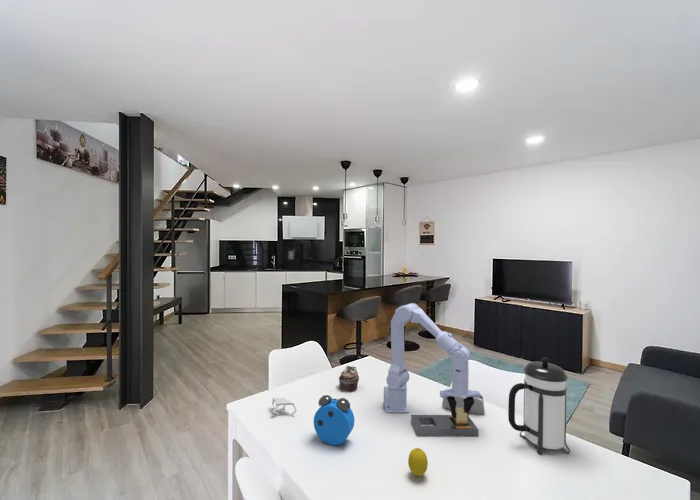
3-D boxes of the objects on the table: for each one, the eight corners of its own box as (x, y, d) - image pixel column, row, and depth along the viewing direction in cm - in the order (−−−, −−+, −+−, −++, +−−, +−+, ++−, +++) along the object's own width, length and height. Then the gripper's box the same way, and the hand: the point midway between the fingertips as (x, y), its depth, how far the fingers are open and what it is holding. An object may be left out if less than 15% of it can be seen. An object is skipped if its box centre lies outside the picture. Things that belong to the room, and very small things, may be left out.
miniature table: (264, 417, 124) (264, 405, 124) (273, 407, 133) (273, 395, 133) (294, 421, 122) (294, 408, 122) (301, 410, 131) (301, 398, 131)
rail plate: (417, 436, 114) (417, 428, 114) (410, 421, 124) (411, 414, 124) (478, 436, 114) (478, 428, 114) (467, 421, 124) (467, 414, 124)
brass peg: (456, 432, 117) (456, 412, 117) (452, 426, 121) (452, 407, 121) (467, 432, 117) (467, 412, 117) (462, 426, 121) (463, 407, 121)
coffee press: (523, 426, 121) (525, 347, 121) (574, 445, 110) (576, 357, 110) (507, 445, 109) (508, 357, 109) (562, 468, 98) (563, 370, 98)
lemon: (405, 469, 96) (406, 443, 96) (423, 469, 96) (424, 442, 97) (411, 483, 91) (411, 454, 91) (430, 482, 91) (430, 454, 91)
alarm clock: (354, 440, 111) (355, 396, 111) (348, 450, 105) (349, 404, 105) (320, 432, 115) (320, 390, 115) (312, 441, 109) (313, 397, 109)
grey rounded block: (483, 408, 135) (484, 389, 131) (484, 417, 130) (485, 398, 127) (442, 402, 140) (442, 383, 137) (442, 410, 136) (442, 391, 132)
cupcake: (340, 383, 157) (340, 363, 157) (359, 385, 156) (360, 364, 156) (336, 392, 148) (337, 370, 148) (357, 393, 147) (358, 371, 147)
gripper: (444, 384, 115) (443, 422, 115) (484, 384, 115) (483, 422, 115) (438, 376, 122) (437, 412, 122) (476, 377, 122) (475, 412, 122)
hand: (459, 416), depth 119 cm, fingers closed on brass peg, 4 cm apart
